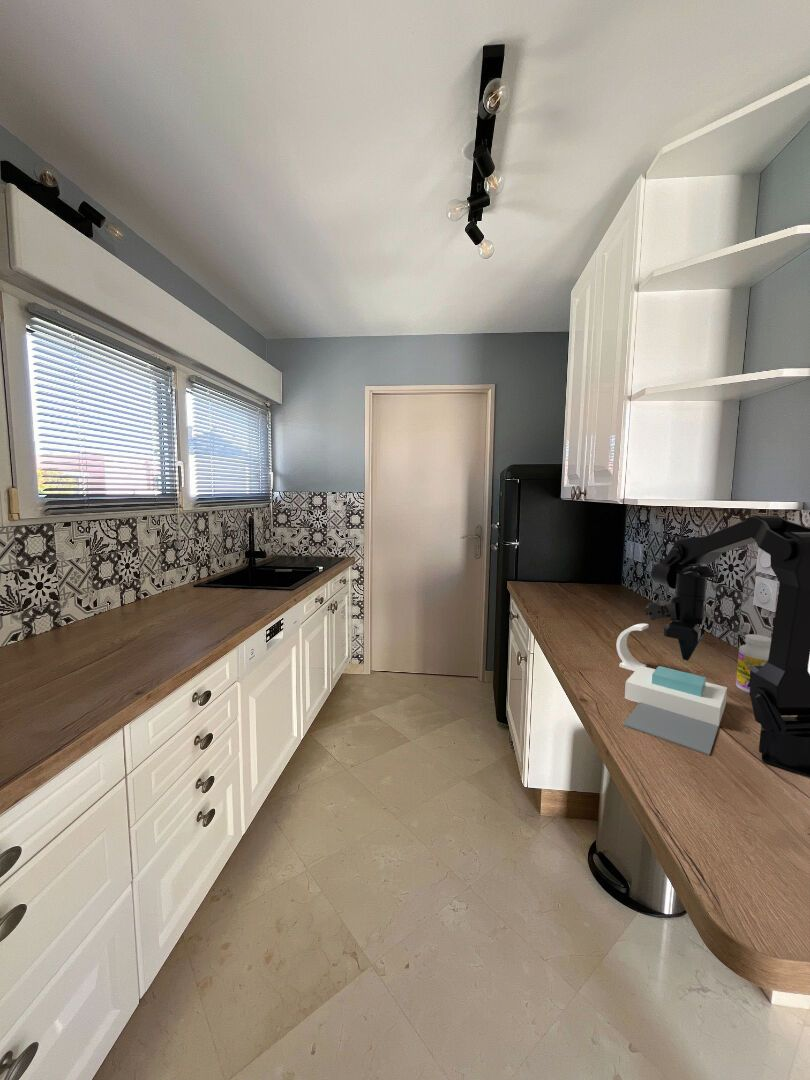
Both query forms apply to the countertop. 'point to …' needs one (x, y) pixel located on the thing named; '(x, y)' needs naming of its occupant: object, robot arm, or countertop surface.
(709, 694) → the tray
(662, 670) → the teal rectangular block
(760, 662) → the supplement bottle
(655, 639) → the countertop surface
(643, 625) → the headphone stand
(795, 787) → the countertop surface
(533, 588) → the countertop surface
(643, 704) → the mat
